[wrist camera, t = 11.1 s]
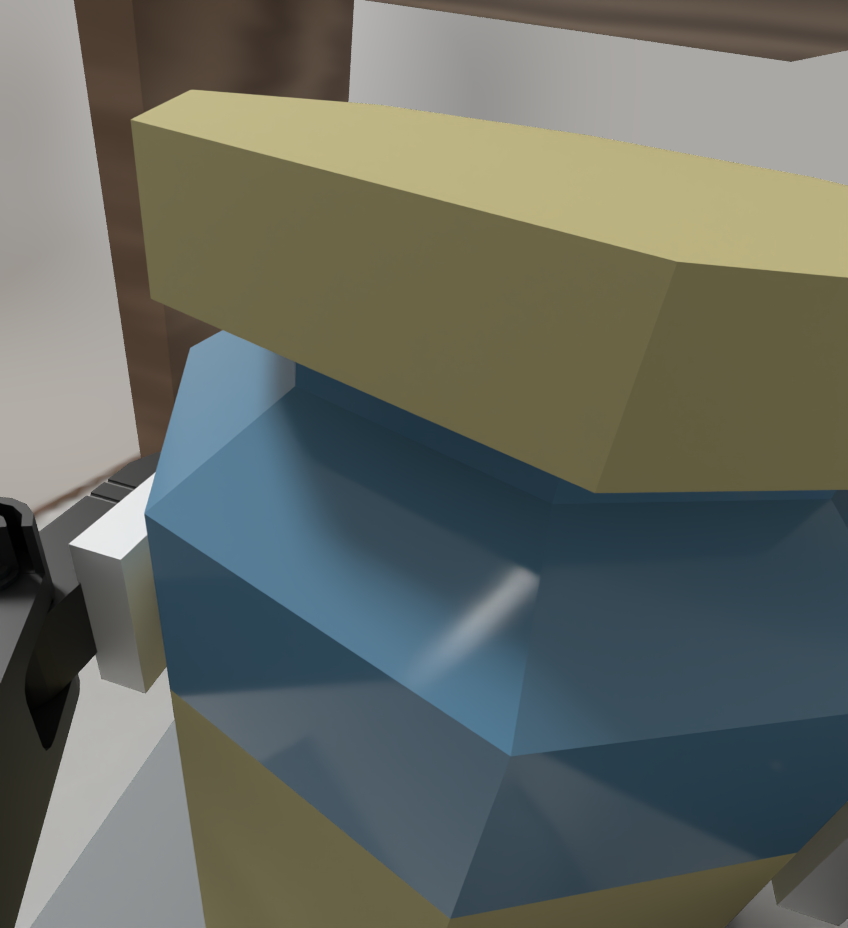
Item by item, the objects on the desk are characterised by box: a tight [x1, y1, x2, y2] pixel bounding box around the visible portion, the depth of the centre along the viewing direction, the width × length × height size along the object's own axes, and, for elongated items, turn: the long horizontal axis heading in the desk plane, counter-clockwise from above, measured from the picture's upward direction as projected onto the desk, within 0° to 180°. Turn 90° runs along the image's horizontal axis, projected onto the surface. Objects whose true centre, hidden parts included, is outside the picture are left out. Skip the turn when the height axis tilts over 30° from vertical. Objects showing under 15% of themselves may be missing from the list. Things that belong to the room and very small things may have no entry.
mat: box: [30, 719, 726, 928], centre depth 15 cm, size 16×16×1 cm
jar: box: [131, 90, 848, 928], centre depth 10 cm, size 9×9×15 cm
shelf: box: [74, 0, 848, 458], centre depth 22 cm, size 14×18×22 cm
